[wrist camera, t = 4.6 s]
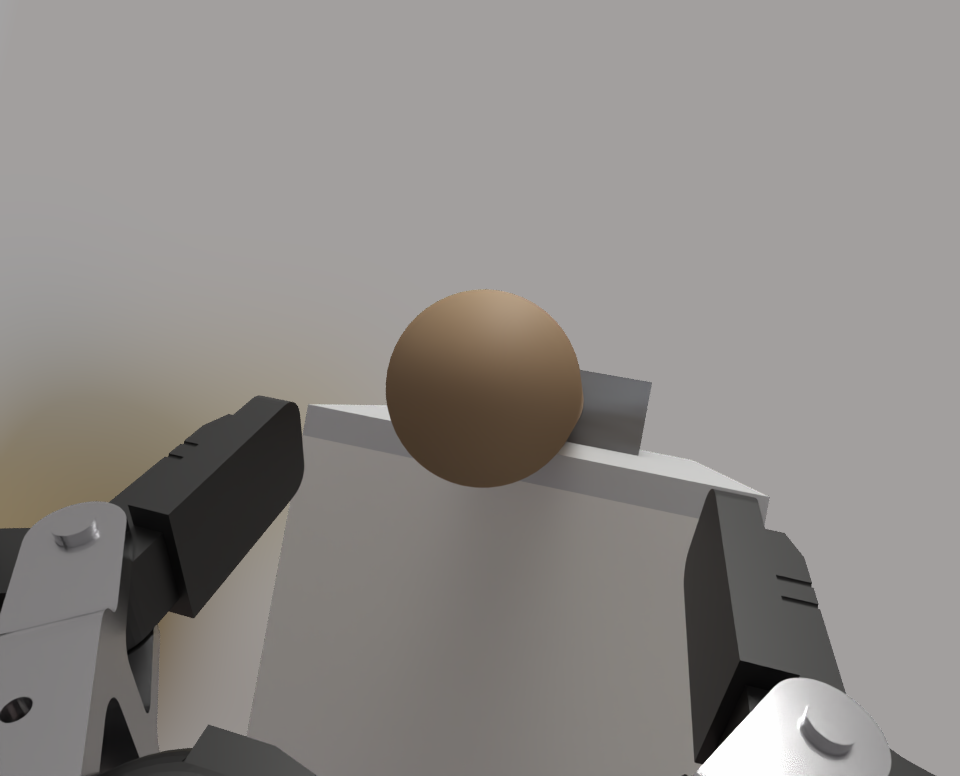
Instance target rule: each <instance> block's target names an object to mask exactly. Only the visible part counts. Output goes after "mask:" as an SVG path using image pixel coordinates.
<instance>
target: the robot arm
mask: <svg viewBox="0 0 960 776" xmlns="http://www.w3.org/2000/svg"><path fill="white" fill-rule="evenodd" d="M303 474H304V454H303V443H302V432H301V421H300V412H299V408H298V406H297V405H296V403H294V402H289V401H284V400H279V399H275V398H269V397H265V396H256V397H254V398H253V399H251V400H250V401H249V402H248V403H247V404H246V405H244V406H243V407H242V408H241V409H240V410H239V411H237V412H236V413H235V414H234V415H230V414H228V415H226V416H223V417H221V418H219V419H217V420H214V421H212V422H210V423H208V424H205V425H203V426H202V427H201V428H199V429H198V430H197V431H196V432H195V433H193V434H192V435H191V436H190V437H188V438H187V439H186V440H185V441H184V444H180V445H179V446H177V447H176V448H175V449H174V450H172V451H171V452H170V453H169V456H168V457H164V458H163V459H162V460H160V461H159V462H158V463H157V464H155V465H154V466H153V467H152V468H150V469H149V470H148V471H147V472H145V474H143V475H142V476H141V477H139V478H138V479H137V480H136V481H135V482H133V483H132V484H131V485H130V486H128V487H127V488H126V489H125V490H124V491H122V492H121V493H120V494H119V495H117V496H116V497H115V498H114V499H112V500H111V501H110V502H109V503H107V502H85V503H79V504H75V505H71V506H68V507H65V508H62V509H60V510H57V511H55V512H53V513H51V514H49V515H48V516H46V517H44V518H43V519H41V520H40V521H38V522H37V523H36V524H35V525H34V526H33V527H32V528H12V529H11V528H9V529H0V776H317V775H315V774H314V773H313V772H311V771H310V770H308V769H307V768H306V767H304V766H303V765H301V764H300V763H299V762H297V761H296V760H295V759H293V758H292V757H290V756H289V755H288V754H286V753H285V752H283V751H282V750H281V749H279V748H278V747H276V746H274V745H271V744H268V743H265V742H262V741H259V740H255V739H252V738H249V737H246V736H242V735H240V734H236V733H233V732H230V731H227V730H224V729H221V728H217V727H214V726H211V725H208V726H207V728H206V729H205V730H204V732H203V734H202V735H201V736H200V738H199V739H198V741H197V743H196V744H195V746H194V747H193V748H187V749H177V750H168V751H163V752H159V746H158V738H157V737H158V736H157V709H158V708H157V707H158V680H159V649H160V631H159V627H158V623H159V622H160V620H161V619H162V618H163V617H164V616H165V615H166V614H167V612H168V611H170V612H173V613H177V614H180V615H184V616H187V617H191V618H195V616H196V615H197V614H198V613H199V611H200V610H201V609H202V608H203V607H204V605H205V604H206V603H207V602H208V600H209V599H210V598H211V597H212V596H213V594H214V593H215V592H216V591H217V589H218V588H219V587H220V586H221V585H222V583H223V582H224V581H225V580H226V578H227V577H228V576H229V575H230V574H231V572H232V571H233V570H234V569H235V567H236V566H237V565H238V564H239V563H240V561H241V560H242V559H243V558H244V557H245V555H246V554H247V553H248V552H249V550H250V549H251V548H252V547H253V546H254V544H255V543H256V542H257V541H258V539H259V538H260V537H261V536H262V535H263V533H264V532H265V531H266V530H267V528H268V527H269V526H270V525H271V524H272V522H273V521H274V520H275V519H276V517H277V516H278V515H279V513H280V512H281V511H282V510H283V509H284V508H285V506H286V505H287V504H288V503H289V501H290V500H291V499H292V498H293V497H294V495H295V494H296V493H297V491H298V489H299V487H300V485H301V482H302V479H303ZM811 584H812V582H811V578H810V575H809V572H808V569H807V565H806V562H805V559H804V557H803V556H802V555H801V553H800V552H799V551H798V549H797V548H796V547H795V546H794V544H793V543H792V542H791V541H790V539H789V538H788V537H787V536H786V534H785V533H781V532H777V531H772V530H767V529H765V527H764V523H763V519H762V515H761V511H760V507H759V503H758V500H757V499H756V498H755V497H751V496H746V495H741V494H736V493H731V492H726V491H721V490H716V489H711V490H710V491H709V492H708V494H707V497H706V499H705V502H704V505H703V508H702V511H701V514H700V517H699V520H698V523H697V526H696V529H695V532H694V535H693V538H692V541H691V544H690V547H689V551H688V554H687V558H686V563H685V570H684V602H685V618H686V634H687V651H688V667H689V683H690V700H691V716H692V732H693V749H694V762H695V763H698V764H702V766H701V767H700V768H699V769H698V770H697V771H696V772H695V773H694V774H693V775H692V776H935V775H933V774H931V773H929V772H927V771H926V770H924V769H922V768H920V767H918V766H916V765H915V764H913V763H911V762H909V761H907V760H906V759H904V758H903V757H901V756H900V755H898V754H897V753H895V752H894V751H892V750H891V749H890V748H889V746H888V743H887V741H886V738H885V736H884V734H883V732H882V731H881V730H880V728H879V726H878V725H877V723H876V722H875V721H874V719H873V718H872V717H871V716H870V715H869V714H868V713H867V712H866V711H865V709H864V708H863V707H861V705H859V704H858V703H857V702H856V701H854V700H853V699H852V698H851V697H849V696H848V695H846V692H845V689H844V686H843V683H842V679H841V676H840V674H839V670H838V667H837V663H836V660H835V657H834V653H833V650H832V647H831V644H830V640H829V637H828V634H827V631H826V627H825V625H824V621H823V618H822V614H821V611H820V609H818V601H817V598H816V595H815V591H814V588H811ZM682 776H688V775H686V774H684V775H682Z"/></svg>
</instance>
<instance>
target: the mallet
mask: <svg viewBox="0 0 960 776" xmlns="http://www.w3.org/2000/svg"><path fill="white" fill-rule="evenodd" d="M651 384H652V383H651V382H646V381H640V380H634V379H629V378H623V377H617V376H611V375H606V374H600V373H594V372H589V371H583V370H580V369H579V364H578V361H577V357H576V354H575V352H574V349H573V347H572V345H571V343H570V341H569V339H568V337H567V336H566V334H565V333H564V331H563V330H562V328H561V327H560V326H559V325H558V323H557V322H556V321H555V320H554V319H553V318H552V317H551V316H550V315H549V314H548V313H547V312H546V311H544V310H543V309H541V308H540V307H539V306H537V305H536V304H534V303H532V302H531V301H529V300H527V299H525V298H523V297H520V296H517V295H515V294H511V293H508V292H503V291H498V290H487V289H485V290H471V291H466V292H460V293H457V294H454V295H451V296H448V297H446V298H444V299H442V300H439V301H437V302H436V303H434V304H433V305H431V306H430V307H428V308H426V309H425V310H424V311H423V312H422V313H420V314H419V315H418V316H417V317H416V318H415V319H414V320H413V321H412V322H411V323H410V324H409V326H408V327H407V328H406V330H405V331H404V332H403V334H402V335H401V337H400V339H399V341H398V342H397V344H396V346H395V349H394V351H393V353H392V356H391V359H390V363H389V367H388V371H387V378H386V400H387V408H388V412H389V416H390V420H391V422H392V425H393V427H394V430H395V432H396V434H397V436H398V438H399V439H400V441H401V443H402V444H403V446H404V447H405V449H406V450H407V451H408V453H409V454H410V455H411V456H412V457H413V458H414V459H415V460H416V461H417V462H418V463H419V464H420V465H422V466H423V467H424V468H425V469H427V470H428V471H430V472H431V473H433V474H434V475H436V476H438V477H440V478H442V479H444V480H447V481H449V482H452V483H455V484H459V485H462V486H468V487H475V488H490V487H498V486H504V485H507V484H511V483H515V482H517V481H519V480H522V479H524V478H527V477H528V476H530V475H532V474H533V473H535V472H537V471H538V470H540V469H541V468H542V467H543V466H545V465H546V464H547V463H548V462H549V461H550V460H551V459H552V458H553V457H554V456H555V455H556V454H557V453H558V452H559V451H560V449H561V448H562V447H563V445H564V444H565V442H570V443H575V444H580V445H586V446H591V447H596V448H601V449H606V450H611V451H616V452H621V453H626V454H631V455H636V456H638V455H639V449H640V444H641V439H642V433H643V428H644V422H645V417H646V411H647V406H648V400H649V395H650V390H651Z"/></svg>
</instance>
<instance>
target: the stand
mask: <svg viewBox="0 0 960 776" xmlns="http://www.w3.org/2000/svg"><path fill="white" fill-rule="evenodd" d="M302 443H303V454H304V474H303V479H302V482H301V485H300V487H299V489H298V491H297V493H296V494H295V495H294V497H293V498H292V499H291V500H290V505H289V511H288V516H287V521H286V527H285V532H284V538H283V543H282V548H281V554H280V559H279V564H278V570H277V575H276V581H275V586H274V591H273V596H272V602H271V607H270V613H269V618H268V624H267V629H266V635H265V639H264V645H263V651H262V656H261V661H260V667H259V672H258V677H257V682H256V688H255V693H254V699H253V704H252V709H251V715H250V720H249V726H248V731H247V736H246V737H249V738H252V739H255V740H259V741H262V742H265V743H268V744H271V745H274V746H276V747H278V748H279V749H281V750H282V751H283V752H285V753H286V754H288V755H289V756H290V757H292V758H293V759H295V760H296V761H297V762H299V763H300V764H301V765H303V766H304V767H306V768H307V769H308V770H310V771H311V772H313V773H314V774H315V775H317V776H682V775H684V774H686V775H688V776H692V775H693V774H694V773H695V772H696V771H697V770H698V769H699V768H700V767H701V766H702V764H698V763H695V762H694V749H693V732H692V716H691V700H690V683H689V667H688V651H687V634H686V618H685V602H684V570H685V563H686V558H687V554H688V551H689V547H690V544H691V541H692V538H693V535H694V532H695V529H696V526H697V523H698V520H699V517H700V514H701V511H702V508H703V505H704V502H705V499H706V497H707V494H708V492H709V491H710V490H711V489H716V490H721V491H726V492H731V493H736V494H741V495H746V496H751V497H755V498H756V499H757V500H758V503H759V507H760V511H761V515H762V519H763V523H764V525H765V519H766V513H767V508H768V503H769V497H768V496H767V495H764V494H762V493H760V492H758V491H756V490H754V489H752V488H750V487H748V486H746V485H743V484H741V483H739V482H737V481H735V480H733V479H731V478H729V477H727V476H725V475H723V474H721V473H718V472H716V471H714V470H712V469H710V468H708V467H706V466H704V465H702V464H700V463H698V462H696V461H694V460H689V459H684V458H678V457H674V456H669V455H663V454H658V453H653V452H648V451H642V450H639V455H638V456H636V455H631V454H626V453H621V452H616V451H611V450H606V449H601V448H596V447H591V446H586V445H580V444H575V443H570V442H565V444H564V445H563V447H562V448H561V449H560V451H559V452H558V453H557V454H556V455H555V456H554V457H553V458H552V459H551V460H550V461H549V462H548V463H547V464H546V465H545V466H543V467H542V468H541V469H540V470H538V471H537V472H535V473H533V474H532V475H530V476H528V477H527V478H524V479H522V480H519V481H517V482H515V483H511V484H507V485H504V486H498V487H490V488H475V487H468V486H462V485H459V484H455V483H452V482H449V481H447V480H444V479H442V478H440V477H438V476H436V475H434V474H433V473H431V472H430V471H428V470H427V469H425V468H424V467H423V466H422V465H420V464H419V463H418V462H417V461H416V460H415V459H414V458H413V457H412V456H411V455H410V454H409V453H408V451H407V450H406V449H405V447H404V446H403V444H402V443H401V441H400V439H399V438H398V436H397V434H396V432H395V430H394V427H393V425H392V422H391V420H390V416H389V412H388V408H387V405H325V404H324V405H323V404H309V405H308V409H307V414H306V420H305V425H304V430H303V435H302Z"/></svg>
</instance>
